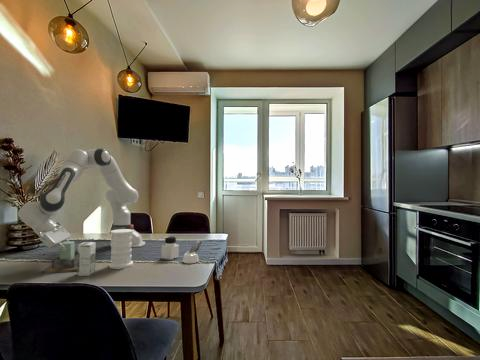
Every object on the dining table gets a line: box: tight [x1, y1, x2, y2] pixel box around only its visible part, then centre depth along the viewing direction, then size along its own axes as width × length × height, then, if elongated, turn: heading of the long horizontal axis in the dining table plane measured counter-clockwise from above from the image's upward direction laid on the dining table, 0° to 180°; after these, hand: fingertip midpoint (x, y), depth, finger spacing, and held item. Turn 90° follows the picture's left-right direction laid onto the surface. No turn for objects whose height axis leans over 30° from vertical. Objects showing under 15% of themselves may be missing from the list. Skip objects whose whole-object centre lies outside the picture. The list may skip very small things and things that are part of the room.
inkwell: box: [181, 239, 203, 264], centre depth 164 cm, size 9×18×10 cm, turn 162°
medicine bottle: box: [160, 235, 180, 261], centre depth 166 cm, size 7×7×12 cm
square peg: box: [59, 240, 76, 259], centre depth 146 cm, size 5×5×10 cm
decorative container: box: [108, 229, 134, 270], centre depth 150 cm, size 12×12×18 cm
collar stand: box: [41, 254, 78, 274], centre depth 146 cm, size 16×16×5 cm
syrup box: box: [76, 241, 97, 277], centre depth 136 cm, size 6×6×14 cm
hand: (68, 248), depth 146 cm, fingers closed on square peg, 5 cm apart
